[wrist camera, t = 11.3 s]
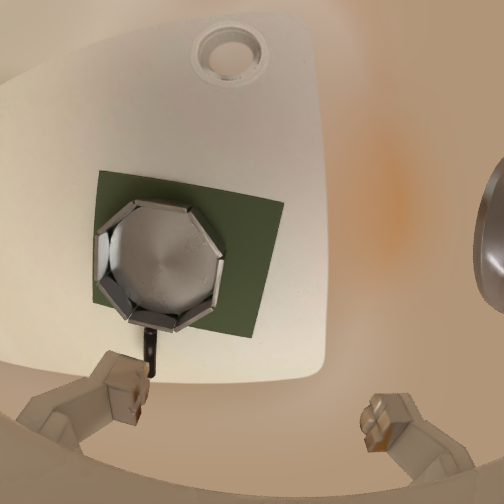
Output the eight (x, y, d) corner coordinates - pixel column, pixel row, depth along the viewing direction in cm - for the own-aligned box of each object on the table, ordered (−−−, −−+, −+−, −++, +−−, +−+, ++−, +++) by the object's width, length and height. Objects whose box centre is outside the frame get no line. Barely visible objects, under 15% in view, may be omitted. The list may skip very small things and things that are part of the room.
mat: (284, 203, 30) (284, 203, 30) (251, 337, 35) (251, 338, 35) (99, 170, 29) (99, 170, 29) (93, 302, 33) (92, 302, 33)
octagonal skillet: (116, 188, 29) (95, 194, 25) (234, 208, 30) (231, 217, 26) (112, 345, 35) (98, 366, 31) (207, 367, 36) (202, 392, 31)
